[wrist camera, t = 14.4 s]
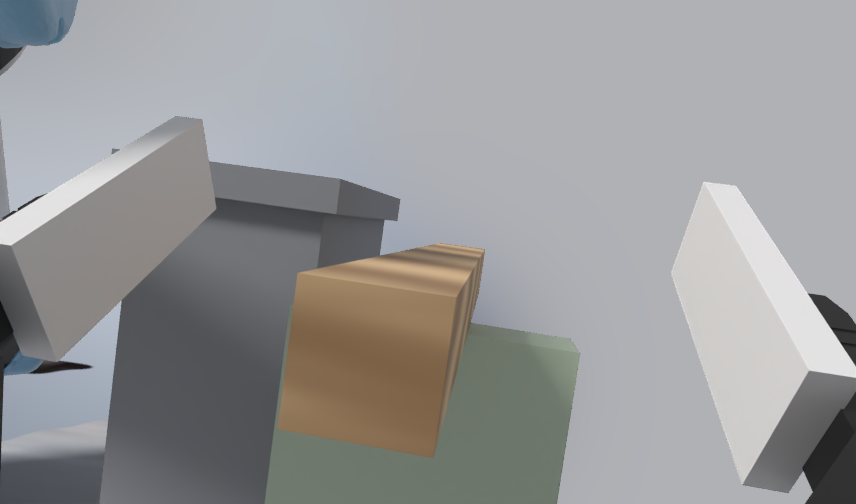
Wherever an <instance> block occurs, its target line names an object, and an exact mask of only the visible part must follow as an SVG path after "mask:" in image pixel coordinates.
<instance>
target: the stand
mask: <svg viewBox="0 0 856 504" xmlns="http://www.w3.org/2000/svg"><path fill="white" fill-rule="evenodd" d="M117 151H119V149H112V154H114V153H116V152H117ZM209 165H210V171H211V178H212V184H213V190H214V197H215V203H216V210H215V211H214V212H213V213H212V214H211V215H209V216H208V217H207V218H206V219H205V220H204V221H203V222H202V223H201V224H200V225H199V226H198V227H197V228H196V229H195V230H194V231H193V232H192V233H191V234H190V235H189V236H188V237H187V238H186V239H185V240H184V241H182V242H181V243H180V244H179V245H178V246H177V247H176V248H175V249H174V250H173V251H172V252H171V253H170V254H169V255H168V256H167V257H166V258H165V259H164V260H163V261H162V262H161V263H160V264H159V265H158V266H156V267H155V268H154V269H153V270H152V271H151V272H150V273H149V274H148V275H147V276H146V277H145V278H144V279H143V280H142V281H141V282H140V283H139V284H138V285H137V286H136V287H135V288H134V289H133V290H132V291H131V292H129V293H128V294H127V295H126V296H125V297H124V298H123V299H122V304H121V312H120V313H121V314H120V322H119V331H118V339H117V348H116V358H115V366H114V375H113V384H112V393H111V402H110V410H109V419H108V428H107V437H106V446H105V455H104V464H103V473H102V482H101V491H100V500H99V504H265V496H266V488H267V480H268V473H269V465H270V457H271V449H272V441H273V433H274V426H275V418H276V410H277V402H278V394H279V387H280V379H281V371H282V363H283V355H284V347H285V340H286V332H287V324H288V316H289V308H290V306H291V305H293V304H294V297H295V289H296V281H297V273H299V272H304V271H309V270H314V269H319V268H323V267H328V266H333V265H338V264H343V263H347V262H352V261H357V260H362V259H367V258H372V257H376V256H380V249H381V241H382V234H383V226H384V220H394V221H397V219H398V211H399V204H400V199H398V198H395V197H392V196H389V195H386V194H383V193H380V192H377V191H374V190H371V189H368V188H366V187H362V186H360V185H357V184H354V183H351V182H348V181H345V180H342V179H336V178H328V177H322V176H314V175H306V174H299V173H291V172H284V171H276V170H269V169H261V168H254V167H246V166H239V165H232V164H223V163H217V162H209Z"/></svg>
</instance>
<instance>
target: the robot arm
mask: <svg viewBox="0 0 856 504" xmlns="http://www.w3.org/2000/svg"><path fill="white" fill-rule="evenodd" d="M77 2H78V0H0V75H2V74H3V73H4V72H5V71H7V70H8V69H9V68H10V67H11V66H12V65H13V64H14V63H15V61H16V60H17V59H18V58H19V57H20V56H21V54H22V52H23V51H24V49H25V47H26V46H27V45H31V46H41V45H50V44H53V43H57V42H59V41H61V40H62V39H63V38H64V37H65V35H66V34H67V33H68V31H69V29H70V27H71V25H72V22H73V18H74V16H75V10H76V5H77ZM215 210H216V203H215V197H214V190H213V184H212V178H211V171H210V165H209V159H208V154H207V147H206V140H205V134H204V128H203V121H202V119H194V118H187V117H179V116H175V117H174V118H172V119H170V120H169V121H167V122H165V123H164V124H162V125H160V126H159V127H157V128H155V129H154V130H152V131H151V132H149V133H147V134H145V135H144V136H142V137H141V138H139V139H137V140H136V141H134V142H132V143H131V144H129V145H127V146H126V147H124V148H122V149H121V150H119V151H117V152H116V153H114V154H112V155H111V156H109V157H107V158H106V159H104V160H103V161H101V162H99V163H97V164H96V165H94V166H92V167H91V168H89V169H87V170H86V171H85V172H83V173H81V174H79V175H78V176H76V177H74V178H72V179H71V180H69V181H67V182H66V183H64V184H63V185H61V186H59V187H58V188H56V189H55V190H53V191H51V192H49V193H47V194H44V195H42V196H38V197H36V198H34V199H33V200H31V201H29V202H28V203H26V204H24V205H23V206H21V207H20V208H18V211H13V212H11V213H10V209H9V200H8V190H7V181H6V170H5V160H4V152H3V141H2V131H1V121H0V468H1V437H2V407H3V378H4V376H5V375H17V374H26V373H29V372H32V371H33V370H35V369H36V368H38V367H39V366H40V365H41V363H42V362H43V360H49V361H55V362H58V361H59V360H60V359H61V358H62V357H63V356H64V355H65V354H66V353H67V352H68V351H69V350H70V349H71V348H72V347H73V346H74V345H75V344H76V343H78V341H80V340H81V339H82V338H83V337H84V336H85V335H86V334H87V333H88V332H89V331H90V330H91V329H92V328H93V327H94V326H95V325H96V324H97V323H98V322H99V321H100V320H101V319H102V318H103V317H104V316H105V315H107V314H108V313H109V312H110V311H111V310H112V309H113V308H114V307H115V306H116V305H117V304H118V303H119V302H120V301H121V300H122V299H123V298H124V297H125V296H126V295H127V294H128V293H129V292H131V291H132V290H133V289H134V288H135V287H136V286H137V285H138V284H139V283H140V282H141V281H142V280H143V279H144V278H145V277H146V276H147V275H148V274H149V273H150V272H151V271H152V270H153V269H154V268H155V267H156V266H158V265H159V264H160V263H161V262H162V261H163V260H164V259H165V258H166V257H167V256H168V255H169V254H170V253H171V252H172V251H173V250H174V249H175V248H176V247H177V246H178V245H179V244H180V243H181V242H182V241H184V240H185V239H186V238H187V237H188V236H189V235H190V234H191V233H192V232H193V231H194V230H195V229H196V228H197V227H198V226H199V225H200V224H201V223H202V222H203V221H204V220H205V219H206V218H207V217H208V216H209V215H211V214H212V213H213V212H214V211H215ZM671 275H672V278H673V281H674V284H675V287H676V290H677V293H678V296H679V299H680V302H681V305H682V308H683V311H684V314H685V317H686V320H687V323H688V326H689V329H690V332H691V335H692V338H693V341H694V343H695V346H696V349H697V353H698V356H699V359H700V362H701V364H702V367H703V370H704V373H705V376H706V379H707V382H708V385H709V388H710V391H711V394H712V397H713V400H714V403H715V406H716V409H717V412H718V415H719V418H720V421H721V424H722V427H723V430H724V433H725V436H726V439H727V442H728V445H729V447H730V450H731V453H732V456H733V459H734V462H735V465H736V468H737V471H738V474H739V477H740V480H741V483H742V485H745V486H751V487H757V488H762V489H768V490H773V491H779V492H784V493H789V491H790V490H791V488H792V487H793V485H794V484H795V482H796V481H797V479H798V478H799V476H800V475H801V473H802V472H803V471H804V473H805V475H806V478H807V480H808V482H809V484H810V486H811V489H812V491H813V493H812V495H811V496H810V497H809V499H808V500H807V501H806V503H805V504H856V324H855V323H854V321H853V320H852V318H851V317H850V316H849V315H848V313H847V312H845V311H844V310H843V309H842V308H840V307H839V306H838V305H836V304H835V303H834V302H832V301H831V300H830V299H829V298H827V297H826V296H822V295H815V294H808V293H807V292H806V291H805V289H804V288H803V286H802V285H801V283H800V282H799V280H798V279H797V277H796V276H795V274H794V272H793V271H792V270H791V269H790V266H789V265H788V264H787V262H786V261H785V259H784V258H783V256H782V255H781V253H780V252H779V250H778V248H777V247H776V245H775V244H774V242H773V241H772V239H771V238H770V236H769V235H768V233H767V232H766V231H765V229H764V227H763V226H762V224H761V223H760V221H759V220H758V218H757V217H756V215H755V214H754V212H753V211H752V209H751V208H750V206H749V205H748V203H747V202H746V200H745V199H744V197H743V196H742V194H741V193H740V191H739V190H738V188H737V187H736V186H733V185H724V184H717V183H708V182H703V185H702V188H701V191H700V193H699V196H698V199H697V202H696V204H695V207H694V210H693V213H692V216H691V219H690V221H689V224H688V227H687V230H686V232H685V235H684V238H683V241H682V244H681V246H680V249H679V252H678V255H677V258H676V260H675V263H674V266H673V269H672V272H671Z"/></svg>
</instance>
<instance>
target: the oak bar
mask: <svg viewBox="0 0 856 504" xmlns="http://www.w3.org/2000/svg"><path fill="white" fill-rule="evenodd" d="M484 253H485V249H479V248H472V247H464V246H458V245H450V244H443V243H439V244H434V245H429V246H424V247H420V248H415V249H411V250H405V251H401V252H396V253H391V254H386V255H381V256H376V257H372V258H367V259H362V260H357V261H352V262H347V263H343V264H338V265H333V266H328V267H323V268H319V269H314V270H309V271H304V272H299V273H297V281H296V289H295V297H294V304H293V312H292V320H291V328H290V336H289V343H288V351H287V359H286V367H285V375H284V382H283V390H282V398H281V406H280V414H279V421H278V429H280V430H285V431H291V432H296V433H301V434H307V435H312V436H317V437H323V438H328V439H333V440H339V441H344V442H349V443H355V444H360V445H365V446H371V447H376V448H381V449H387V450H392V451H397V452H403V453H408V454H413V455H419V456H424V457H429V458H433V457H434V454H435V450H436V446H437V443H438V439H439V435H440V432H441V428H442V425H443V421H444V417H445V414H446V410H447V406H448V403H449V399H450V396H451V392H452V388H453V385H454V381H455V377H456V374H457V370H458V366H459V363H460V359H461V356H462V352H463V348H464V345H465V341H466V337H467V334H468V330H469V327H470V323H471V319H472V315H473V312H474V308H475V305H476V301H477V297H478V294H479V286H480V280H481V273H482V266H483V260H484Z"/></svg>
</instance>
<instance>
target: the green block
mask: <svg viewBox="0 0 856 504" xmlns="http://www.w3.org/2000/svg"><path fill="white" fill-rule="evenodd" d="M292 312H293V305H291V306H290V308H289V316H288V324H287V332H286V340H285V347H284V355H283V363H282V371H281V379H280V387H279V394H278V402H277V410H276V418H275V426H274V433H273V441H272V449H271V457H270V465H269V473H268V480H267V488H266V496H265V504H557V499H558V493H559V486H560V479H561V473H562V467H563V460H564V454H565V448H566V441H567V435H568V428H569V421H570V415H571V409H572V403H573V396H574V390H575V383H576V376H577V370H578V363H579V358H580V352H579V351H578V349H577V348H576V346H575V345H574V343H573V342H572V341H571V339H569V338H561V337H556V336H550V335H543V334H537V333H531V332H524V331H518V330H512V329H505V328H499V327H493V326H487V325H480V324H474V323H470V327H469V330H468V334H467V337H466V341H465V345H464V348H463V352H462V356H461V359H460V363H459V366H458V370H457V374H456V377H455V381H454V385H453V388H452V392H451V396H450V399H449V403H448V406H447V410H446V414H445V417H444V421H443V425H442V428H441V432H440V435H439V439H438V443H437V446H436V450H435V454H434V457H433V458H429V457H424V456H419V455H413V454H408V453H403V452H397V451H392V450H387V449H381V448H376V447H371V446H365V445H360V444H355V443H349V442H344V441H339V440H333V439H328V438H323V437H317V436H312V435H307V434H301V433H296V432H291V431H285V430H280V429H278V421H279V414H280V406H281V398H282V390H283V382H284V375H285V367H286V359H287V351H288V343H289V336H290V328H291V320H292Z"/></svg>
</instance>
